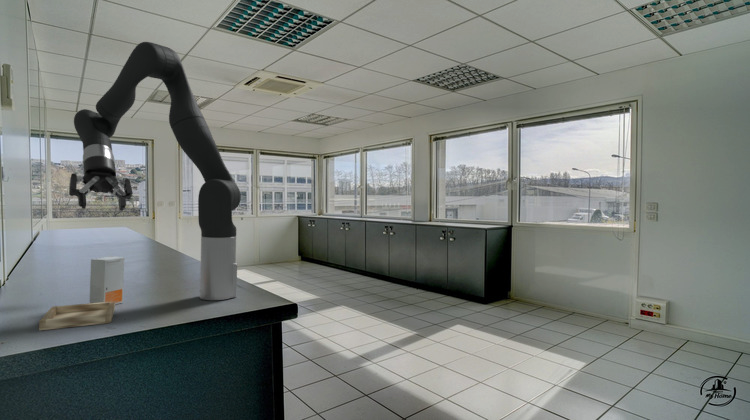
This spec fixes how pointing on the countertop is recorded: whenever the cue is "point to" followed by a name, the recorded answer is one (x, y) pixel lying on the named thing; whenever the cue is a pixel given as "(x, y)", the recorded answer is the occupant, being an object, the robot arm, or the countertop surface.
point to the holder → (77, 315)
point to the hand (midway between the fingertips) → (103, 207)
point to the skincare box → (107, 280)
